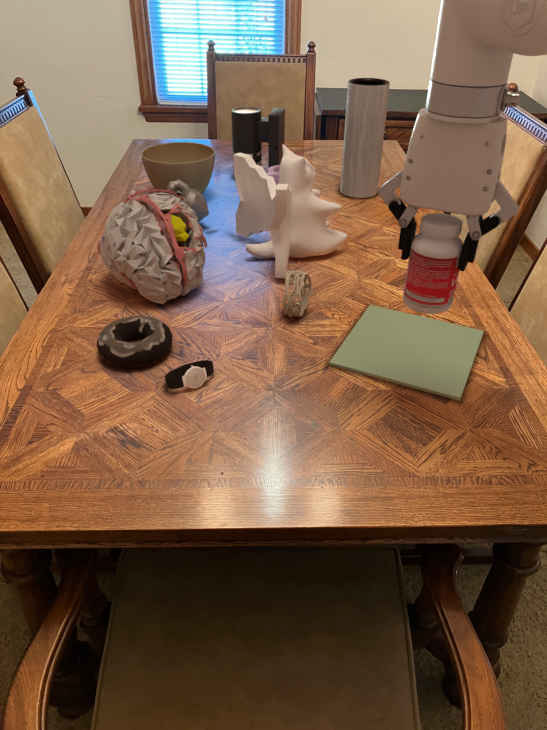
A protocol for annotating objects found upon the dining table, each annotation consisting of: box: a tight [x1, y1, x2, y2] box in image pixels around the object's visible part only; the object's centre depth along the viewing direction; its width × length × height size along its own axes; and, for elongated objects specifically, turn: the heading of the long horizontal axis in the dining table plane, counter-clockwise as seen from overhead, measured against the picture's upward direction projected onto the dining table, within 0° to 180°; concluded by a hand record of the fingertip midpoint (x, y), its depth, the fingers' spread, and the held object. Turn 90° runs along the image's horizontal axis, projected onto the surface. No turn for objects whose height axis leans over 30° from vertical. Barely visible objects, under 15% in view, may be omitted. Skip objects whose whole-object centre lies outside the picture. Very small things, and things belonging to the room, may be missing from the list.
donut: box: [96, 315, 174, 369], centre depth 90 cm, size 12×12×4 cm
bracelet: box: [281, 269, 313, 318], centre depth 99 cm, size 4×8×8 cm, turn 166°
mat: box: [328, 304, 485, 402], centre depth 92 cm, size 20×20×1 cm
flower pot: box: [140, 141, 216, 196], centre depth 145 cm, size 18×18×12 cm
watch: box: [164, 359, 215, 390], centre depth 84 cm, size 8×5×4 cm, turn 126°
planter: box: [339, 77, 391, 199], centre depth 146 cm, size 10×10×27 cm
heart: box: [167, 180, 210, 223], centre depth 130 cm, size 10×10×12 cm
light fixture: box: [230, 106, 286, 179], centre depth 158 cm, size 10×14×18 cm
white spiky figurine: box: [232, 143, 348, 279], centre depth 116 cm, size 25×21×21 cm
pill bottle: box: [402, 212, 464, 315], centre depth 69 cm, size 6×6×11 cm
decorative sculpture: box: [97, 188, 208, 305], centre depth 105 cm, size 19×21×20 cm
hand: (434, 259), depth 69 cm, fingers closed on pill bottle, 6 cm apart
